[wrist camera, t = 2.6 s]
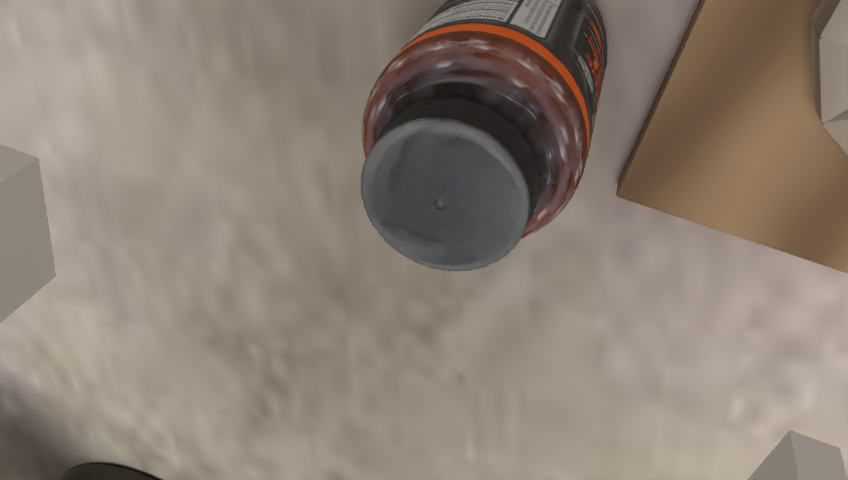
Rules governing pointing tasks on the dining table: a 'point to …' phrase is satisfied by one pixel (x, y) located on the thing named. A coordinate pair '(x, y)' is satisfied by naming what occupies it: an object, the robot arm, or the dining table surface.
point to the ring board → (754, 127)
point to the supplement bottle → (482, 128)
